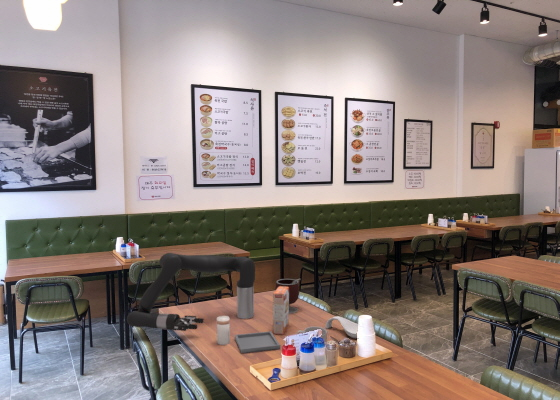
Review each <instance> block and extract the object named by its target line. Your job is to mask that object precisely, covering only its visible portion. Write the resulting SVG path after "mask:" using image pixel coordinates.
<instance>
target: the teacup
mask: <svg viewBox="0 0 560 400" xmlns="http://www.w3.org/2000/svg"><path fill="white" fill-rule="evenodd" d="M317 329H321V330H322V335H321V337H322V338H323V339H324V341H325V342H326V343H327V341H328V330H327V329H326V328H325V327H322V326H317V325H316V326H312V325H311V326H308V327H306V328H304V330H301V329H299V330H297V332H296V335H297V334H299V335H300V333H301V334H303V333H306V332H309V331H314V330H317Z"/></svg>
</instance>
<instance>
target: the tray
mask: <svg viewBox="0 0 560 400" xmlns="http://www.w3.org/2000/svg"><path fill="white" fill-rule="evenodd" d="M234 340H235V342H236V345H237V347H238V349H239V351H240V354H242V355H243V354H251V353H261V352H268V351H279V350H281V344H280V342H279V341H278V339H277V338H276V337H275V334H273V331H271V330H269V331H260V332H259V331H258V332H249V333H241V334H234Z"/></svg>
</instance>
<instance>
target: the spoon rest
mask: <svg viewBox="0 0 560 400" xmlns="http://www.w3.org/2000/svg"><path fill="white" fill-rule="evenodd" d="M334 320H335V321H338V322H339V323H340V324H341V326H342V329H343V330H344V332H345V333H346V334H347V336H349V338H352V339H356V338H357V334H356V333H357V330H358V324H359V323H356V322H354V321H352V320H349V319H347V318H345V317H342V316H338V315H337V316H333V317H331V318H329V319H328V320H327V321H326V323H325V326H324V329H326V330H327V329H330V328H332V324H333V321H334ZM357 339H358V338H357Z"/></svg>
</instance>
